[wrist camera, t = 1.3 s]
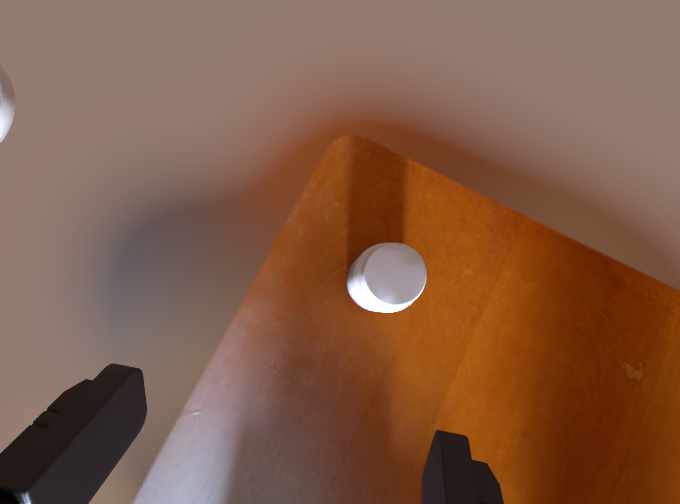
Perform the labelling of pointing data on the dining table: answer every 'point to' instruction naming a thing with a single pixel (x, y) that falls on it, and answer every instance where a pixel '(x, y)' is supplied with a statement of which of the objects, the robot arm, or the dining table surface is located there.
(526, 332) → the dining table surface
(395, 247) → the pill bottle
